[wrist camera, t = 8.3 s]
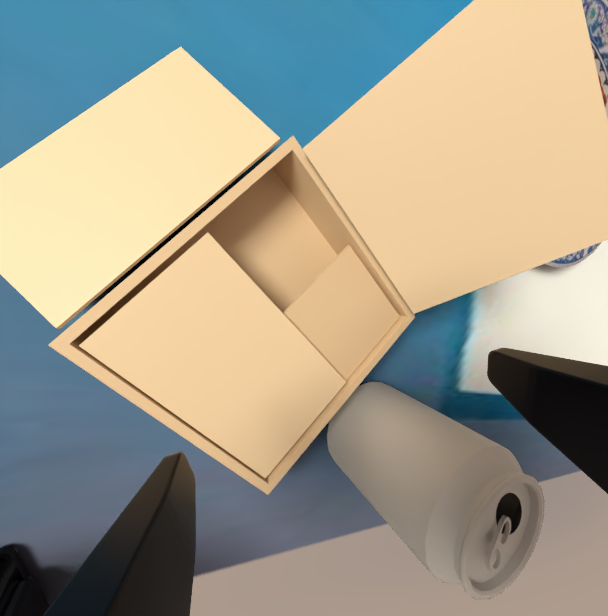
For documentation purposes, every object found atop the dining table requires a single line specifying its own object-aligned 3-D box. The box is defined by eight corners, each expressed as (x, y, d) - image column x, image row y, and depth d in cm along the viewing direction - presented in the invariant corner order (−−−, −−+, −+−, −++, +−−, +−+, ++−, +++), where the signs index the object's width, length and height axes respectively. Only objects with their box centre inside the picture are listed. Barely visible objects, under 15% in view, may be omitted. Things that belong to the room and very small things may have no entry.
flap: (413, 313, 20) (631, 230, 14) (302, 148, 15) (564, -79, 9) (413, 310, 20) (626, 226, 15) (304, 147, 15) (558, -74, 10)
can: (407, 417, 27) (568, 518, 16) (350, 480, 25) (490, 643, 14) (371, 359, 24) (535, 434, 13) (304, 425, 22) (433, 574, 12)
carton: (252, 460, 21) (268, 494, 18) (-72, 224, 13) (-150, 210, 10) (382, 310, 24) (415, 316, 21) (190, 45, 16) (195, -9, 13)
